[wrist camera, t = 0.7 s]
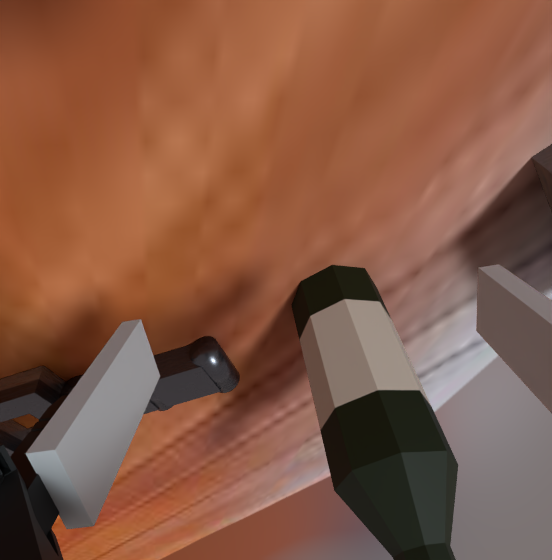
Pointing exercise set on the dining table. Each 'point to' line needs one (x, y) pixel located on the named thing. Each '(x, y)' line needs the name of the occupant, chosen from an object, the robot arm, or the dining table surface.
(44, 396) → the chain ends
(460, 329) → the dining table surface
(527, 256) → the dining table surface
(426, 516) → the wine bottle
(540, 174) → the tissue box cover
